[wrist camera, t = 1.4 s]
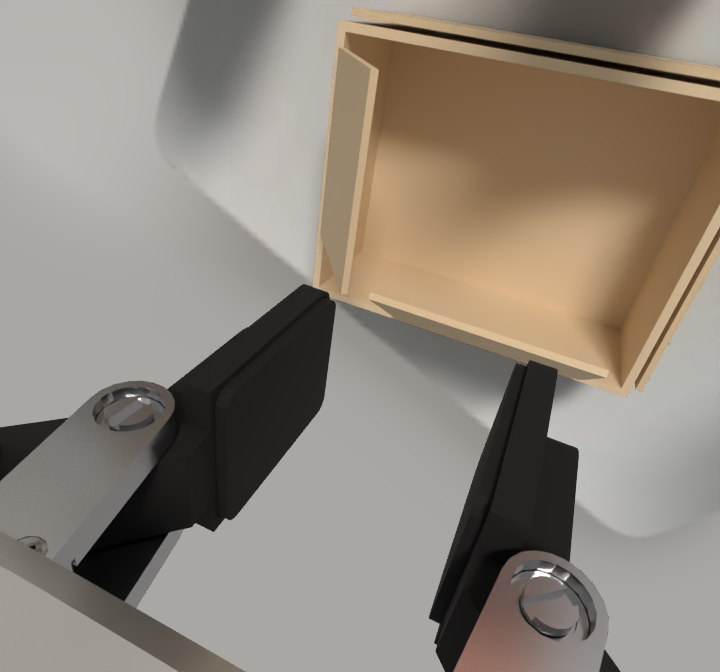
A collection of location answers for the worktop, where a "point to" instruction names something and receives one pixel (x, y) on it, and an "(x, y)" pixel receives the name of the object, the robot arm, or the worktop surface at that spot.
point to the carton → (534, 188)
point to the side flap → (488, 339)
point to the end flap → (347, 160)
